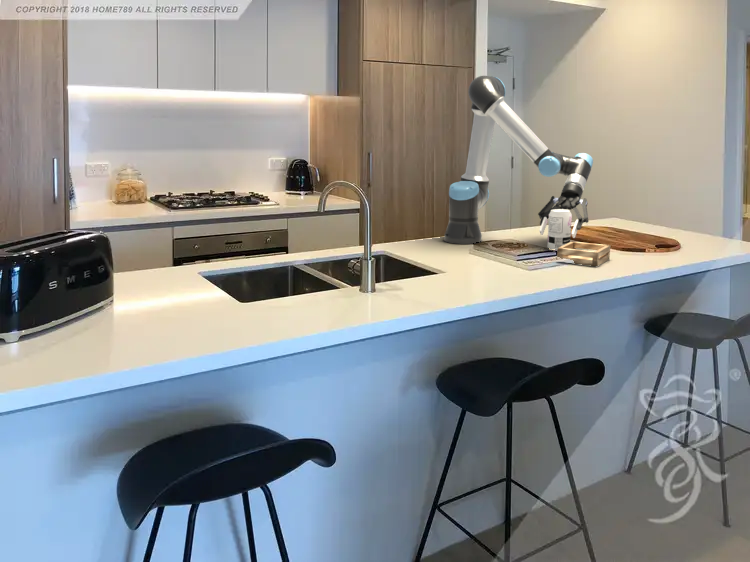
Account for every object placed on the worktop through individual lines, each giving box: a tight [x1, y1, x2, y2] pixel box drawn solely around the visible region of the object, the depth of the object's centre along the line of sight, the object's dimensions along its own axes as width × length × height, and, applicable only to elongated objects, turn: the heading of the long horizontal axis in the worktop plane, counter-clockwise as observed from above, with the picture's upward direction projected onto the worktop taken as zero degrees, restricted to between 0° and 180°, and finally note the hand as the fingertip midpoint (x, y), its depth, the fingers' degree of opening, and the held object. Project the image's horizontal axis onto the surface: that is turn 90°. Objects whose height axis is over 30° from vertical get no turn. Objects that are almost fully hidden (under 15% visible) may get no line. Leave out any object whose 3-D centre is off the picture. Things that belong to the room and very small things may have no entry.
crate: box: [556, 240, 611, 267], centre depth 244 cm, size 14×14×5 cm
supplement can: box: [546, 209, 573, 250], centre depth 261 cm, size 8×8×15 cm
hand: (556, 234), depth 259 cm, fingers open, 12 cm apart
